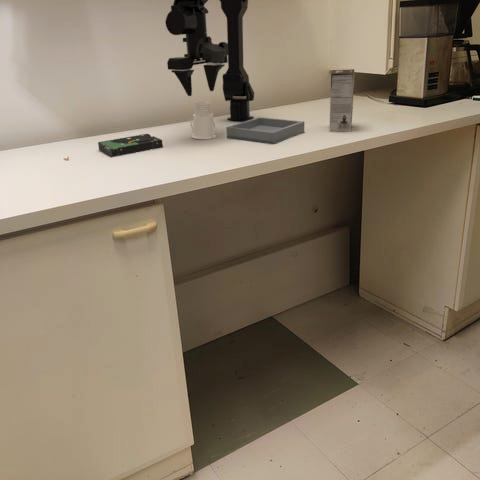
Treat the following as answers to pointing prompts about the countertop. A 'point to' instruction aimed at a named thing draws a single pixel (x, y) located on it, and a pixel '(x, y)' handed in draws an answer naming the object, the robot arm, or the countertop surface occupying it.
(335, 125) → the coffee box
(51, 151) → the countertop surface
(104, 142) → the disk drive
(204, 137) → the downlight
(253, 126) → the tray
